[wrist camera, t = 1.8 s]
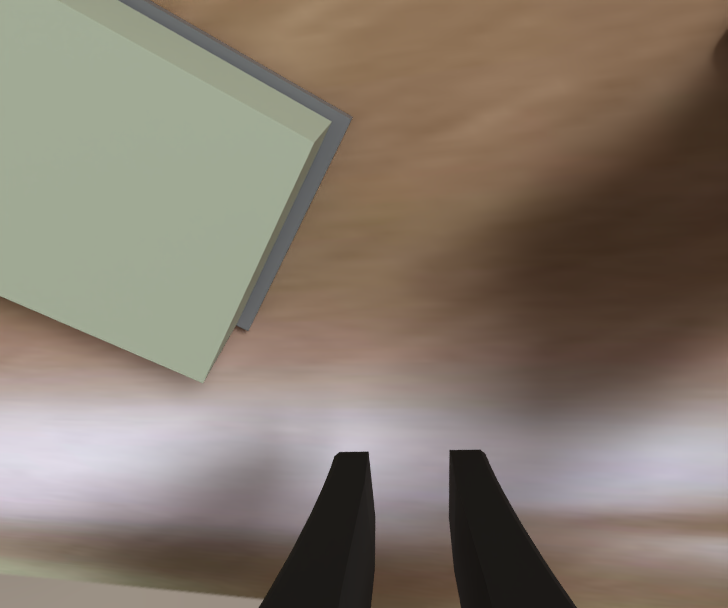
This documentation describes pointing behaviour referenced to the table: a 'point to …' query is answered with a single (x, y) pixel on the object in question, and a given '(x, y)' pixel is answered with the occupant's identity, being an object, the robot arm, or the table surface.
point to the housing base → (339, 118)
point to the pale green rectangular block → (139, 178)
